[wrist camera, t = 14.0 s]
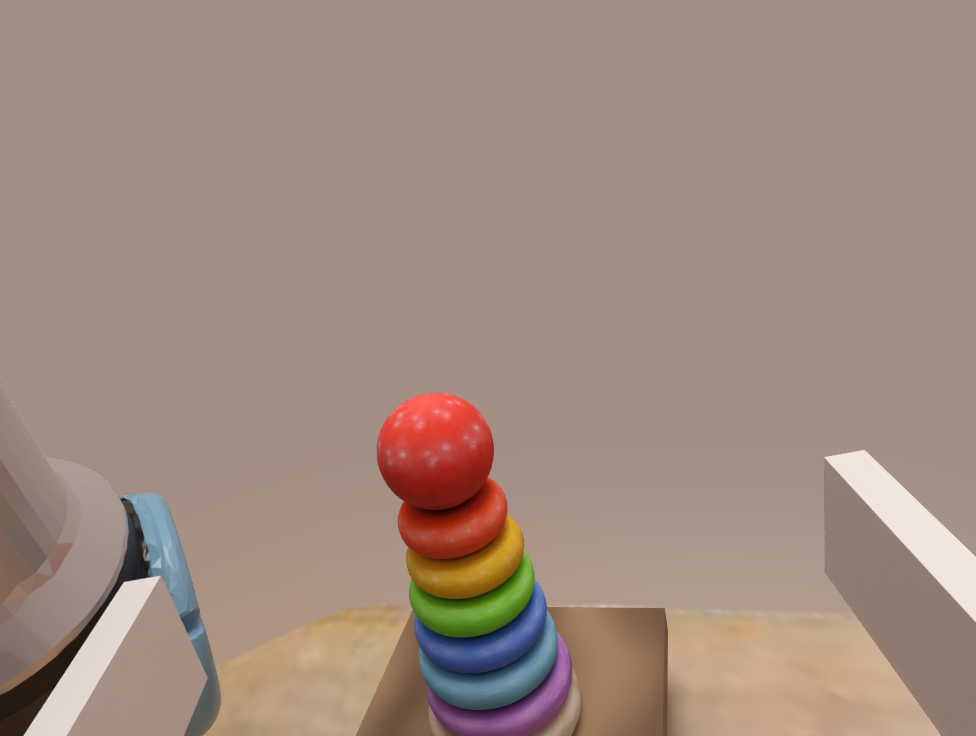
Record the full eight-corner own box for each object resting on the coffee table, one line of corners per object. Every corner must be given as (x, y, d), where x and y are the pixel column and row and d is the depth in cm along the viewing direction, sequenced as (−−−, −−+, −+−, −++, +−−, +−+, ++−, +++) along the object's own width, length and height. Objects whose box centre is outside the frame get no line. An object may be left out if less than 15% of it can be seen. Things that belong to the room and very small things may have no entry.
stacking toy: (422, 686, 41) (331, 388, 34) (555, 640, 42) (492, 343, 35) (449, 810, 33) (339, 461, 27) (608, 750, 35) (542, 402, 28)
